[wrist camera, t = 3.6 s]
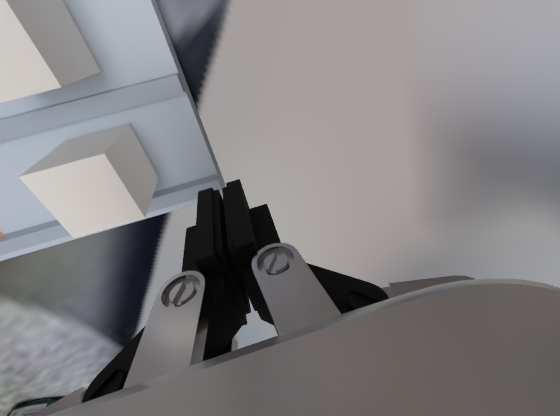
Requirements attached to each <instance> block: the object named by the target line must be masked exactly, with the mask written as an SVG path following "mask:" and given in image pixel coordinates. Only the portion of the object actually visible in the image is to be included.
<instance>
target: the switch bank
mask: <svg viewBox="0 0 560 416" xmlns="http://www.w3.org/2000/svg"><path fill="white" fill-rule="evenodd" d="M63 2H64V3H65V5H66V7H67V9H68V11H69V13H70V14H71V16H72V18H73V20H74V22H75V24H76V26H77V27H78V29H79V31H80V33H81V35H82V37H83V39H84V40H85V42H86V44H87V46H88V48H89V50H90V51H91V53H92V55H93V57H94V59H95V61H96V63H97V64H98V66H99V68H100V70H101V72H99V73H96V74H94V75H91V76H89V77H86V78H84V79H81V80H79V81H76V82H74V83H71V84H69V85H66V86H64V87H61V88H57V89H53V90H49V91H45V92H41V93H37V94H33V95H29V96H26V97H22V98H18V99H14V100H10V101H6V102H2V103H0V261H2V260H5V259H9V258H12V257H16V256H19V255H23V254H26V253H29V252H33V251H36V250H40V249H43V248H47V247H50V246H54V245H57V244H60V243H64V242H67V241H71V240H74V239H78V238H81V237H84V236H81V237H78V238H73V237H72V236H71V235H70V234H69V233H68V231H67V230H66V229H65V228H64V227H63V226H62V225H61V224H60V222H59V221H58V220H57V219H56V218H55V217H54V216H53V215H52V214H51V212H50V211H49V210H48V209H47V208H46V207H45V206H44V205H43V204H42V202H41V201H40V200H39V199H38V198H37V197H36V196H35V195H34V194H33V192H32V191H31V190H30V189H29V188H28V187H27V186H26V185H25V184H24V182H23V181H22V180H21V179H20V178H19V176H20V175H22V174H23V173H24V172H25V171H27V170H28V169H29V168H30V167H32V166H33V165H34V164H36V163H37V162H38V161H39V160H41V159H42V158H43V157H45V156H46V155H47V154H48V153H50V152H51V151H52V150H54V149H55V148H56V147H57V146H59V145H60V144H61V143H63V142H64V141H65V140H69V139H72V138H76V137H80V136H84V135H87V134H91V133H95V132H99V131H102V130H106V129H110V128H114V127H117V126H121V125H125V124H130V126H131V127H132V129H133V131H134V133H135V135H136V137H137V138H138V140H139V142H140V144H141V146H142V148H143V150H144V151H145V153H146V155H147V157H148V159H149V161H150V163H151V164H152V166H153V168H154V170H155V172H156V174H157V175H158V177H159V178H158V181H157V184H156V187H155V190H154V193H153V196H152V199H151V202H150V205H149V208H148V211H147V214H146V217H145V218H143V219H146V218H150V217H153V216H157V215H160V214H164V213H167V212H170V211H174V210H177V209H181V208H184V207H188V206H191V205H195V204H197V201H198V191H201V190H205V189H208V188H211V187H212V188H213V190H217V189H218V190H219V191H220V194H221V196H223V192H222V188H224V187H225V183H224V180H223V178H222V175H221V172H220V170H219V167H218V164H217V162H216V159H215V156H214V154H213V151H212V148H211V146H210V143H209V141H208V138H207V135H206V133H205V130H204V127H203V125H202V122H201V119H200V117H199V114H198V111H197V109H196V106H195V103H194V101H193V98H192V95H191V93H190V90H189V87H188V85H187V82H186V79H185V77H184V74H183V71H182V69H181V66H180V64H179V61H178V58H177V56H176V53H175V50H174V48H173V45H172V42H171V40H170V37H169V34H168V32H167V29H166V26H165V24H164V21H163V18H162V16H161V13H160V10H159V8H158V5H157V2H156V0H63ZM143 219H140V220H143ZM140 220H136V221H140ZM136 221H133V222H136ZM133 222H129V223H133ZM129 223H126V224H129ZM126 224H122V225H126ZM122 225H119V226H122ZM119 226H115V227H119ZM115 227H112V228H115ZM112 228H109V229H112ZM109 229H105V230H109ZM105 230H102V231H105ZM102 231H98V232H102ZM98 232H95V233H98ZM95 233H91V234H95ZM91 234H88V235H91ZM88 235H85V236H88Z"/></svg>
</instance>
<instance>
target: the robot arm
mask: <svg viewBox="0 0 560 416" xmlns="http://www.w3.org/2000/svg"><path fill="white" fill-rule="evenodd" d="M226 185H227V187H224V188H222V192H223V199H222V196H221V194H220V191H219V190H218V189H217V190H213V188H212V187H211V188H208V189H205V190H201V191H198V201H197V219H196V225H195V226H192V227H189V228H187V230H186V238H185V247H184V257H183V266H182V273H179V274H177V275H175V276H173V277H171V278H170V279H169V280H168V281H166V282H165V283H164V285H163V286H162V287H161V288H160V290H159V292H158V294H157V296H156V298H155V301H154V304H153V307H152V310H151V312H150V315H149V318H148V321H147V323H146V326H145V327H144V328H143V329H142V330H141V331H140V332H139V333H138V334H137V335H136V336H135V337H134V338H133V339H132V340H131V341H130V342H129V343H128V344H127V345H126V346H125V347H124V348H123V349H122V350H121V352H120V353H119V354H118V355H117V356H116V357H115V358H114V359H113V360H112V361H111V362H110V363H109V364H108V365H107V366H106V367H105V368H104V369H103V370H102V371H101V372H100V373H99V374H98V375H97V376H96V378H95V379H94V380H93V381H92V383H91V384H90V385H89V387H88V389H87V390H86V389H85V388H83V387H82V388H80V389H78V390H76V391H74V392H73V393H71V394H69V395H67V396H65V397H64V398H62V399H60V400H58V401H56V402H54V403H53V404H51V405H49V406H47V407H45V408H44V409H42V410H40V411H38V412H36V413H35V414H33V415H31V416H560V288H558V287H555V286H551V285H548V284H544V283H539V282H533V281H527V280H516V279H474V278H470V277H466V276H448V277H439V278H430V279H421V280H413V281H404V282H396V283H389V287H385V288H380V287H378V286H376V285H374V284H371V283H369V282H366V281H363V280H360V279H356V278H353V277H350V276H347V275H343V274H340V273H337V272H334V271H330V270H327V269H324V268H321V267H318V266H314V265H311V264H308V263H306V262H305V261H304V259H303V258H302V257H301V255H300V254H299V252H298V251H297V249H296V248H295V247H293V246H292V245H289V244H286V243H281V242H280V239H279V237H278V234H277V231H276V228H275V226H274V223H273V220H272V217H271V214H270V211H269V209H268V206H267V204H264V205H261V206H258V207H255V208H251V209H249V206H248V203H247V200H246V197H245V194H244V191H243V188H242V185H241V182H240V180H235V181H232V182H228V183H226ZM248 296H249V297H248ZM249 299H250V301H251V303H252V306H253V308H254V310H255V311H258V314H259V316H260V318H261V319H262V320H264V321H266V322H268V323H270V324H272V325H274V326H275V329H276V331H277V334H278V336H276V337H273V338H270V339H267V340H264V341H261V342H258V343H255V344H252V345H250V346H246V347H243V348H240V349H238V340H237V336H236V333H237V332H238V331H239V329H240V328H241V326H243V325H246V324H247V319H246V314H248V313H250V312H251V309H250V303H249Z"/></svg>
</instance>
